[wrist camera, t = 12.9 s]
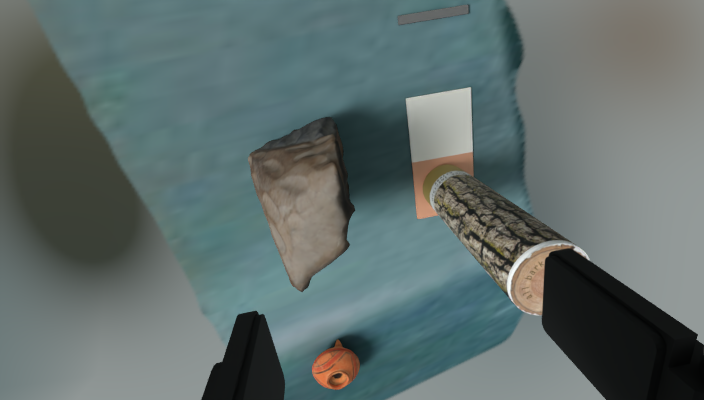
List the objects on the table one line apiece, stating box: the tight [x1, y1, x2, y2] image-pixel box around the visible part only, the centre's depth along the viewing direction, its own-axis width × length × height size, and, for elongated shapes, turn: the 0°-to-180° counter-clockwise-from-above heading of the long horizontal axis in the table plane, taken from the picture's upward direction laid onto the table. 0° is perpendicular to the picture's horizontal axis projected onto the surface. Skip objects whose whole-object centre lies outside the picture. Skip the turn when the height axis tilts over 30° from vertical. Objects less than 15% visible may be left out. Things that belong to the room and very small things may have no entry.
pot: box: [312, 340, 360, 390], centre depth 57 cm, size 8×8×7 cm
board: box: [398, 5, 474, 219], centre depth 47 cm, size 28×9×1 cm, turn 9°
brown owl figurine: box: [248, 117, 355, 292], centre depth 39 cm, size 13×13×20 cm
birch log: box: [423, 164, 590, 315], centre depth 39 cm, size 7×7×25 cm
